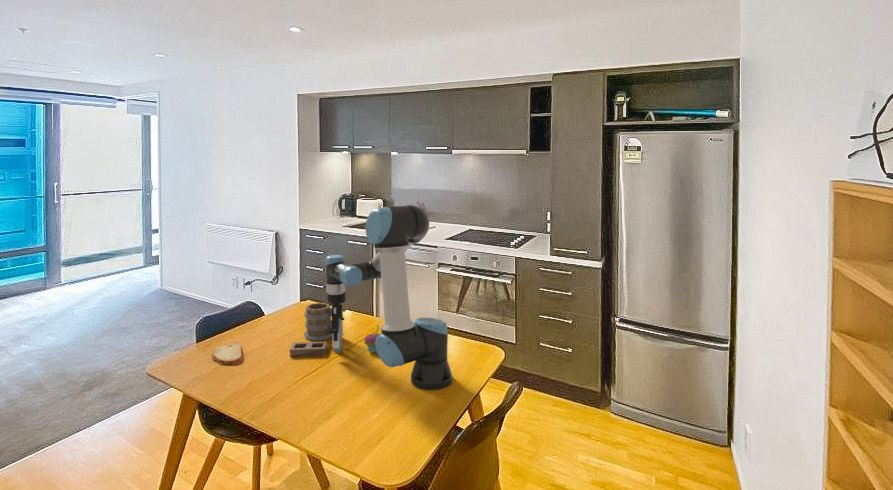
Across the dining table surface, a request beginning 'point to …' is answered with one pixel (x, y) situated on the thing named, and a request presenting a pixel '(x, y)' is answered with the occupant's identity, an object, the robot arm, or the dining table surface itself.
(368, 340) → the cupcake
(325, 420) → the dining table surface
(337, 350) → the dowel
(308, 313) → the tankard
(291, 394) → the dining table surface
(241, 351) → the bread slice
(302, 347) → the hole block
